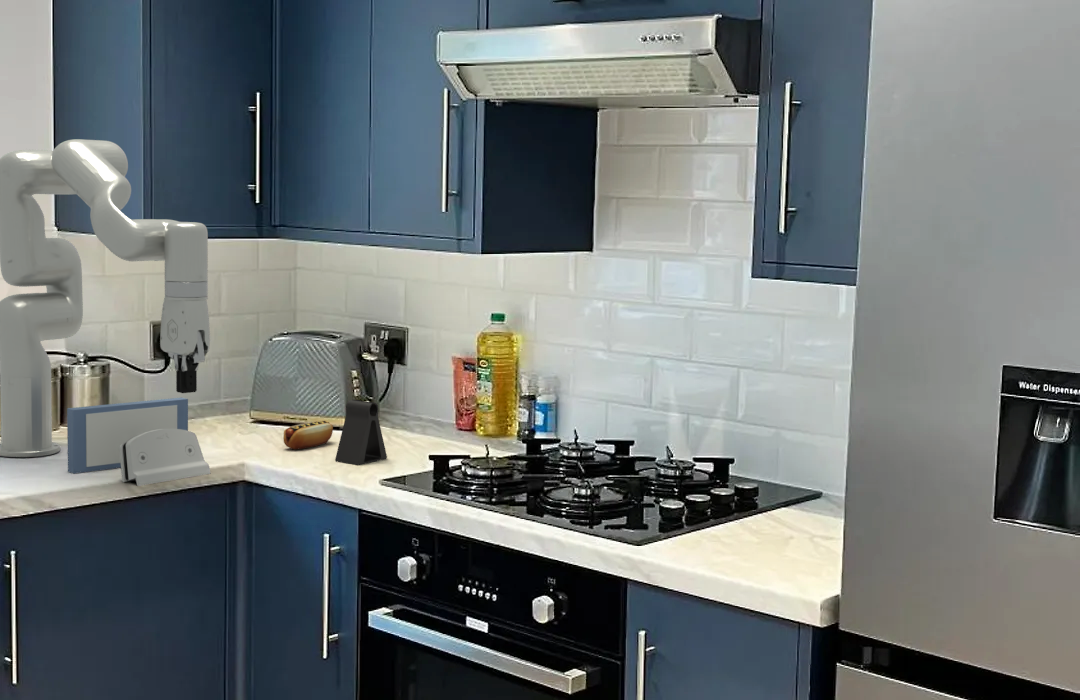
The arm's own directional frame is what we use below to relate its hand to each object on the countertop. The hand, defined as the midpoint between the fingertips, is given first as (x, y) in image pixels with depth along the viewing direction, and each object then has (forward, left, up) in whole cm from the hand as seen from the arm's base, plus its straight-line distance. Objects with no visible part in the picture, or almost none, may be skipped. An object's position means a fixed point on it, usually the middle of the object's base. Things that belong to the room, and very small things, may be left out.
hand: (186, 391), depth 259 cm
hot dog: (-17, +39, -17) cm, 46 cm away
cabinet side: (-21, 0, -17) cm, 27 cm away
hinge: (-8, 0, -17) cm, 19 cm away
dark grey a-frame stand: (+1, +39, -17) cm, 43 cm away
